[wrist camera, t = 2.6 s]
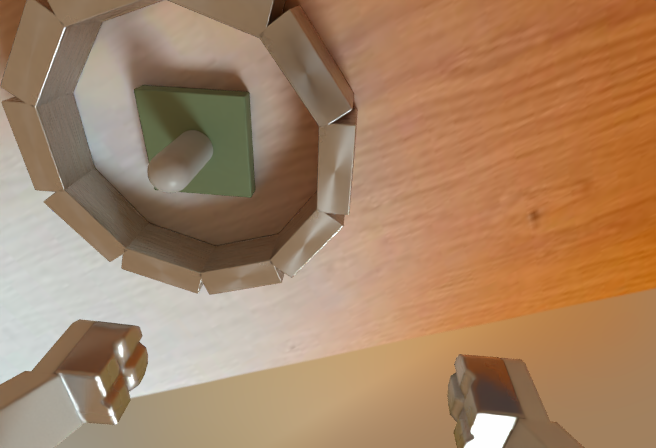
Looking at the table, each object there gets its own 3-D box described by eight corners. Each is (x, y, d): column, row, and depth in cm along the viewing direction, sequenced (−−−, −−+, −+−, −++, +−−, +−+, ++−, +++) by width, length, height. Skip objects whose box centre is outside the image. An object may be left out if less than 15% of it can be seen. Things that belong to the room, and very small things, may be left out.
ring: (370, -42, 18) (370, -45, 15) (343, 276, 28) (341, 306, 25) (-6, -59, 19) (-65, -65, 16) (96, 255, 29) (70, 282, 26)
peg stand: (249, 91, 22) (217, 122, 17) (255, 190, 25) (229, 239, 20) (141, 84, 22) (80, 113, 17) (161, 183, 25) (114, 230, 20)
